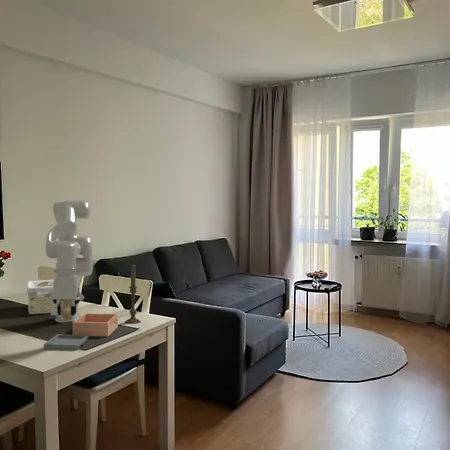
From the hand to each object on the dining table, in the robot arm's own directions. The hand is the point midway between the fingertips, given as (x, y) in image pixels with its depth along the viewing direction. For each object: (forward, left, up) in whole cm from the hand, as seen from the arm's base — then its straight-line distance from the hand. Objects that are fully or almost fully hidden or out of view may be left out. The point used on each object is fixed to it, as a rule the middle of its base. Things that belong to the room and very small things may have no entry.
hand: (66, 314), depth 200 cm
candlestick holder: (+20, +34, -13) cm, 42 cm away
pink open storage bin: (+7, +17, -13) cm, 23 cm away
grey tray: (0, 0, -13) cm, 13 cm away
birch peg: (0, 0, -2) cm, 2 cm away
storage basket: (-36, +59, -13) cm, 70 cm away
